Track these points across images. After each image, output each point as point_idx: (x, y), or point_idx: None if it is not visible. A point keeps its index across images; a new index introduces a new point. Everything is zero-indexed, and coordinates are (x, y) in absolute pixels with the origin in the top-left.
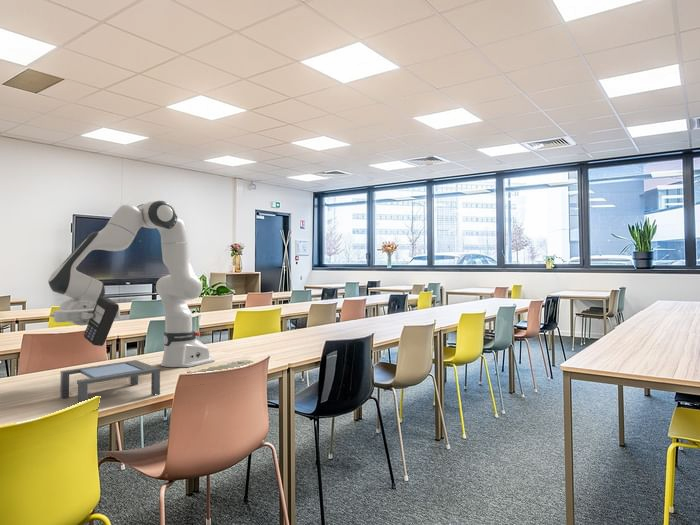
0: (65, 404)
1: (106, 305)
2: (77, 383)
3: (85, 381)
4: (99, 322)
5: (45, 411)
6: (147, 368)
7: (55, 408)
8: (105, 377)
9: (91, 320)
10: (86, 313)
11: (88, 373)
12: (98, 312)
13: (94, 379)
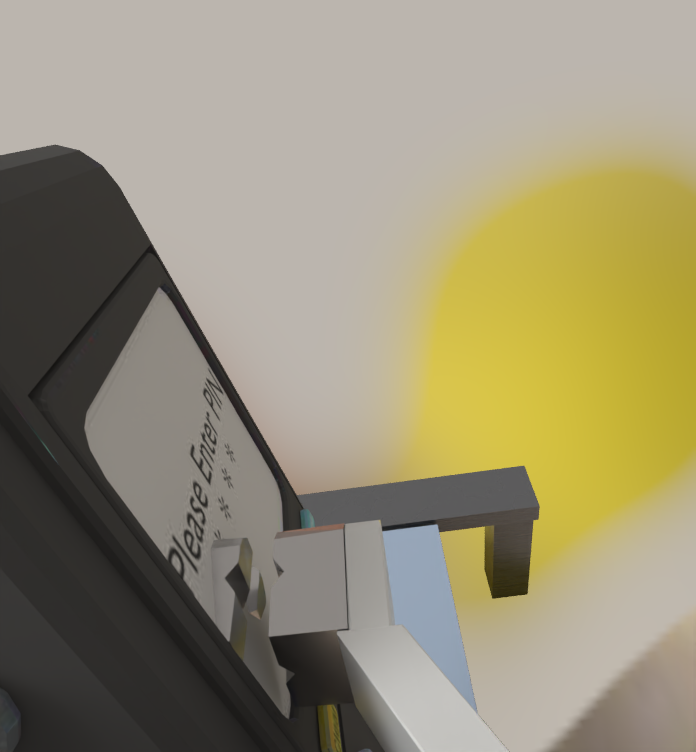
0: (598, 740)
1: (117, 199)
2: (536, 513)
3: (495, 471)
4: (271, 479)
5: (692, 655)
6: None
7: (646, 684)
8: (387, 489)
9: (315, 726)
10: (410, 634)
11: (460, 661)
12: (193, 460)
13: (447, 477)
